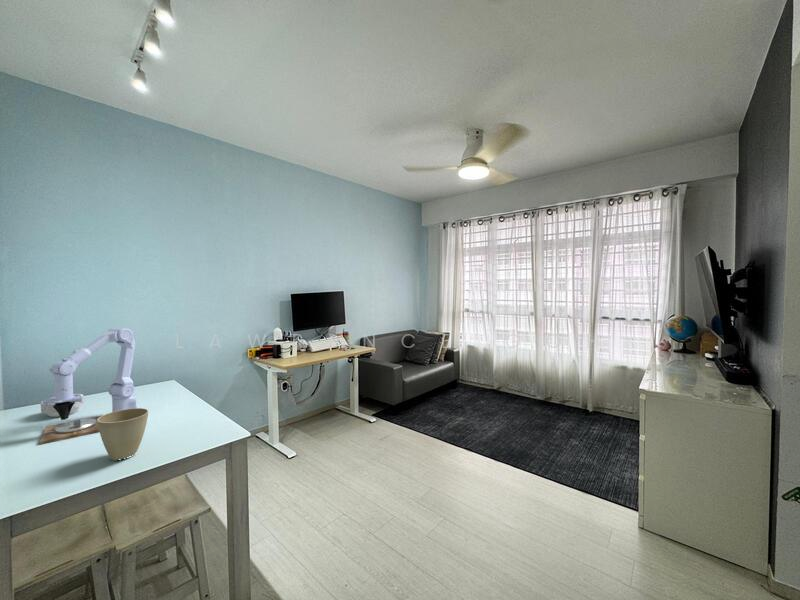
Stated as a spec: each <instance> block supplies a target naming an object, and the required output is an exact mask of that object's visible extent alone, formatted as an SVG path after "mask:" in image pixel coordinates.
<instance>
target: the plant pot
mask: <svg viewBox="0 0 800 600" xmlns="http://www.w3.org/2000/svg"><path fill="white" fill-rule="evenodd" d="M100 416H101V417H99V416H98V417H99V418H98V419H97V422H98V427H99V432H98V433H99V435H100V438H101V441H102V444H103V446H104V448H105V450H106V452H107V454H108V457H109V458H110V460H111V459H112V460H111V461H113V460H119V459H124V458H127V457H129V456H132V455H134V454H135V453H136V452H138V450H139V448H140V445H141V443H142V441H143V437H144V435H145V430H146V426H147V423H148V417H149V409H147V408H142V407H140V408H138V407H137V408H133V409H125V410H119V411H115V412H108V413H105V414H103V415H100ZM136 454H137V453H136ZM136 454H135V455H136ZM135 455H134V456H135Z"/></svg>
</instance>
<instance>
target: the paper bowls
mask: <svg viewBox="0 0 800 600" xmlns="http://www.w3.org/2000/svg"><path fill="white" fill-rule="evenodd" d="M73 396H78V397H85V395H84V394H82V393H73ZM50 398H55V396H53V397H52V396H51V397H50ZM50 398H49V397H48V398H47V399H50ZM54 405H55V403H53V404H44V405H42V401H41V402H40V412H41V414H46V415H47V416H48V417H50V418H51V417H52V418H58V417H59V418H60V416H59V414H58V412H57V411H56V410H55V409H54V408H53V406H54ZM84 405H85V401H84V402H75V404H74V405H73V407H72V409H71V411H70V414H69V415H72V414H74V413H76V412H77V411H78V410H79V408H80V407H83V406H84Z"/></svg>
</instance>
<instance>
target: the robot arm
mask: <svg viewBox="0 0 800 600" xmlns="http://www.w3.org/2000/svg"><path fill="white" fill-rule="evenodd" d="M134 334H135V333H134V332H133V331H132V330H131V329H129V328H127V327H126V328H120V327H110V328H108V329H107V330H105V331H104V332H103V333H102V334H101V335H100V336H98V337H97V338H96V339H94V340H93V341H92V342H91V343H90V344H88V345H87V346H86V347H84V348H77V349H74V350H73V352H72V353H71V354H69V355H68V356H65V357H63V358H62V360H60V361H56V362H54V363H52V366H51V367H50V368H49V371H50V373H51V374H53V388H54V389H53V390H54V393H53V394H54V397H55V398H52V397H50V399H48V398H45V399H43V400H42V401H41V402H42V405H44V404H53V403H55V405H54V406H53V408H54V409H55V410H56V411H57V412H58V414H59V416H60V417H59V418H60V420H61V421H65V420H67V419H69V416H70V415H71V414H70V411H71V409H72V407H73V405H74V404H75V402H84V403H85V402H86V396H84V397H78V396H73V394H74V380H73V379H74V378H73V376H74V372H76V370H77V368H78V367H79V366H80V365H81V364H83V363H84V362H86V361H87V360H88V359H90V358H91V357H92V353H94V352H96V351H97V350H98V349H101V348H102V347H103V346H105V345H107V344H108V343H116V344H118V345H119V346H120V354H119V358H118V364H117V372H116V376H115V378H114V379H113V380H112V381H111V385H110V386H109V387H108V394H109V396H111V401H112V403H111V404H112V405H111V406H112V407H111V408H112V412H115V411H119V410H125V409H133V408H138V405H137V395H136V394H134V392H135V386H134V381H133V379H132V378H131V374H132V368H133V362H134V355H135V350H136V343H137V342H136V341H135V337H134Z"/></svg>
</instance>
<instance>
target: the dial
mask: <svg viewBox="0 0 800 600" xmlns="http://www.w3.org/2000/svg"><path fill="white" fill-rule="evenodd" d="M63 423H64V424H62V423H60V424H61V425H59V426H57V427H56V428H55V432H56V433H71V432H76V431H81V430H84V429H87V428H90V427H92V426H94V425H95V424H96V420H95V419H88V418H82V419H81V418H79V419H74V420H72V421H67V422H63Z"/></svg>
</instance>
